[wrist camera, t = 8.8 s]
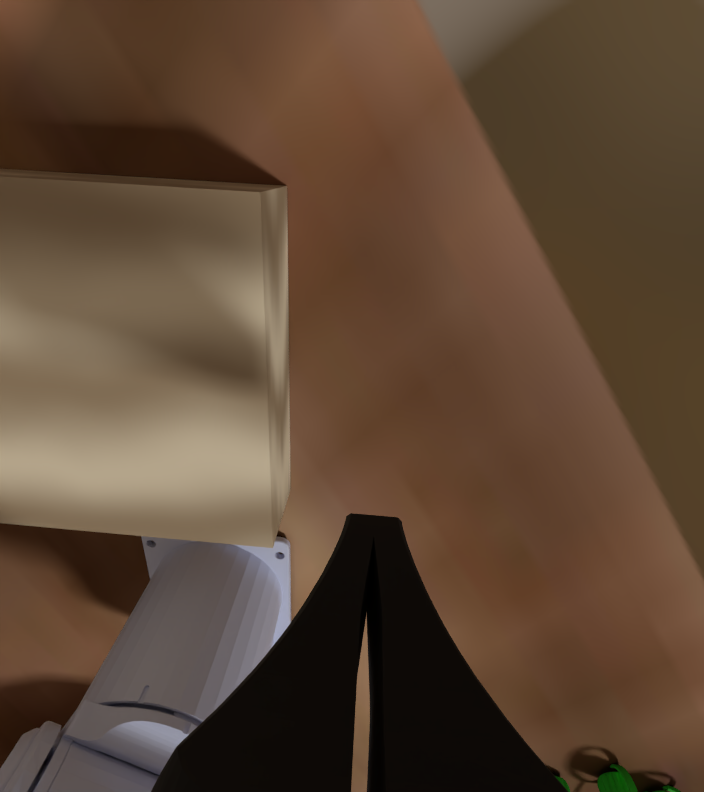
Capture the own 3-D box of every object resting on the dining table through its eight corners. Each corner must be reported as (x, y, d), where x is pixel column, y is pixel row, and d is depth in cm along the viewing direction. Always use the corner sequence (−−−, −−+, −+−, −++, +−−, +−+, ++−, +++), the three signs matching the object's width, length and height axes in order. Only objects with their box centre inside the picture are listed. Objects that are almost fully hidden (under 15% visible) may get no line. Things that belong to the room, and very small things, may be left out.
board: (290, 489, 23) (272, 548, 20) (22, 466, 24) (-42, 519, 20) (287, 185, 17) (260, 192, 14) (-78, 163, 18) (-195, 164, 14)
